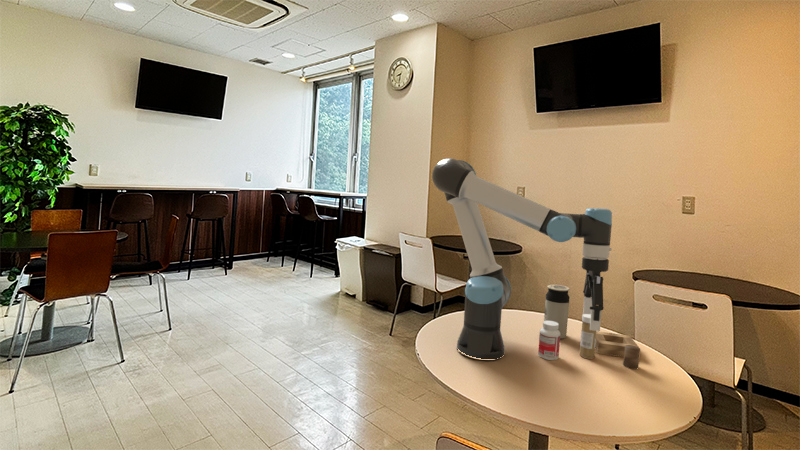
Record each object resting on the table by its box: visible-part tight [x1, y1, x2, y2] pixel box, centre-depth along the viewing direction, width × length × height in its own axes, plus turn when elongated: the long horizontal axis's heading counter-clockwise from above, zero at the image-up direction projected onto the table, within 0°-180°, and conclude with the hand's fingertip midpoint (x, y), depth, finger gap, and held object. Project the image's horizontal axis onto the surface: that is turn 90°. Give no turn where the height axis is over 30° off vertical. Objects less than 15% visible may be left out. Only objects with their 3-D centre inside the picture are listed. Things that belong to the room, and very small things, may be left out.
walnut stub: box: [622, 345, 641, 370], centre depth 123 cm, size 4×4×6 cm
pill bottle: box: [537, 320, 561, 361], centre depth 127 cm, size 6×6×11 cm
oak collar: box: [595, 331, 639, 358], centre depth 136 cm, size 12×12×4 cm
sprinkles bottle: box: [578, 313, 596, 360], centre depth 128 cm, size 5×5×13 cm
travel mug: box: [543, 284, 571, 340], centre depth 146 cm, size 8×8×18 cm
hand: (590, 323), depth 128 cm, fingers open, 13 cm apart
